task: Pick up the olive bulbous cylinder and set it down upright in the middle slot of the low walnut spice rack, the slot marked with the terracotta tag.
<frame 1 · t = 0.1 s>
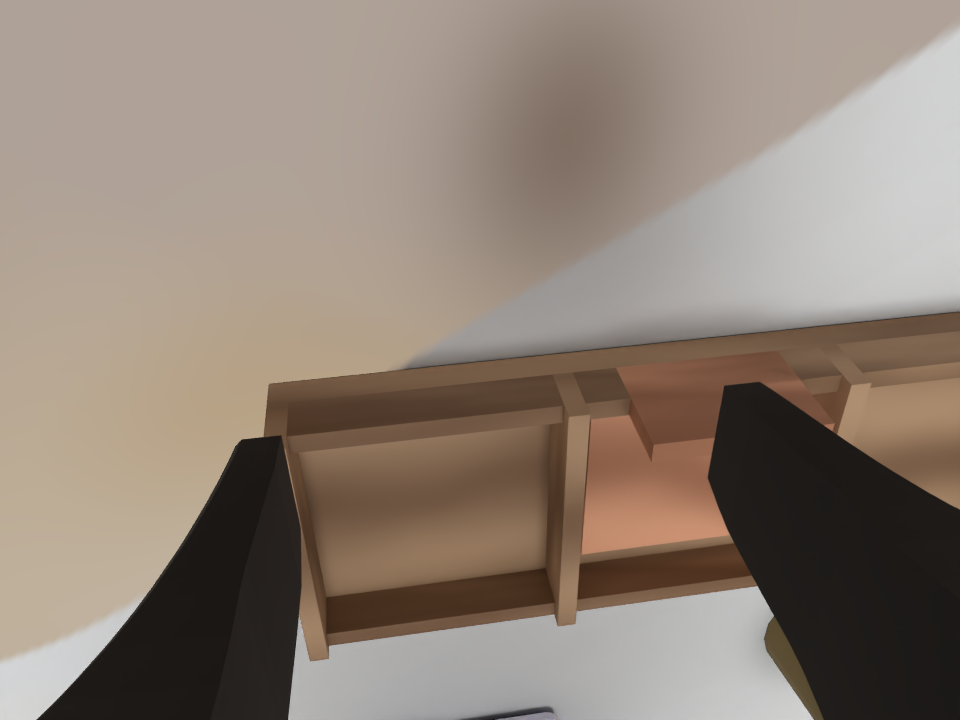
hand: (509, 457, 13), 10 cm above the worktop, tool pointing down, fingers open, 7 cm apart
olive bulbous cylinder: (830, 618, 35), on the worktop
spice rack: (669, 451, 28), on the worktop
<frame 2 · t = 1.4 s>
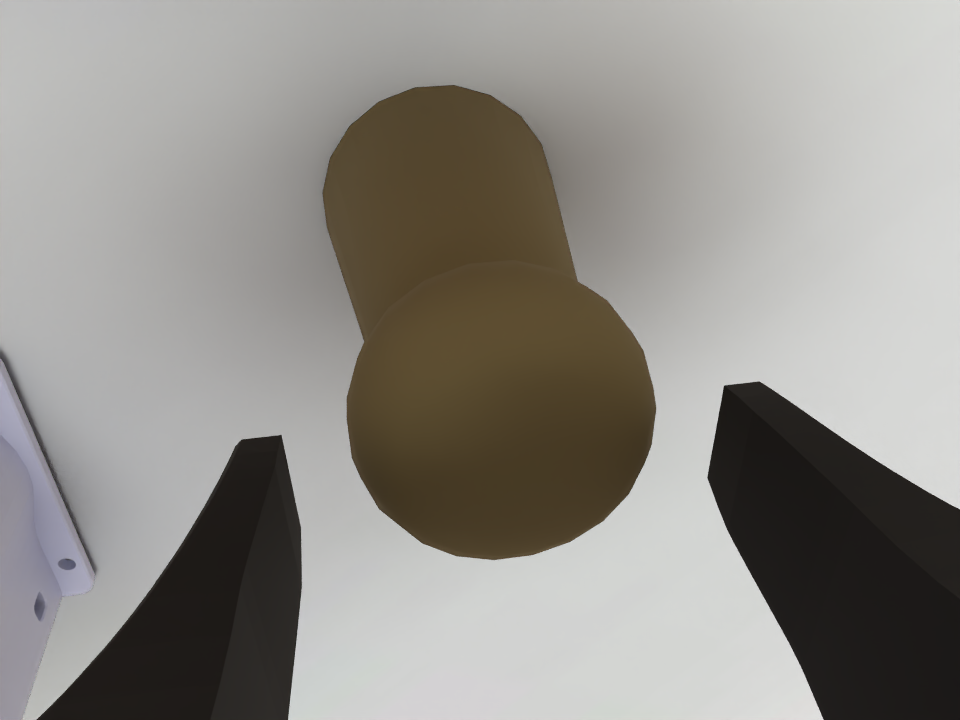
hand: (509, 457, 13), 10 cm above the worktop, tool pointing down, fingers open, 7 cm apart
olive bulbous cylinder: (438, 198, 22), on the worktop
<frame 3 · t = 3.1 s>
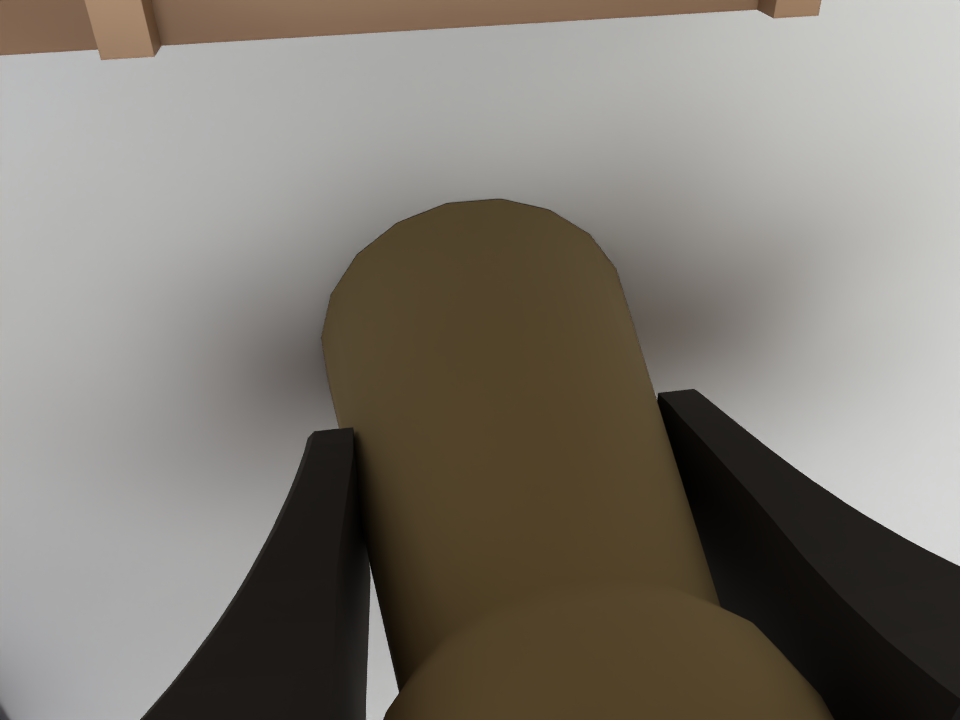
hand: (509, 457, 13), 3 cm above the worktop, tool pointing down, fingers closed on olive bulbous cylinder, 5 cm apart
olive bulbous cylinder: (476, 336, 16), on the worktop, touching gripper
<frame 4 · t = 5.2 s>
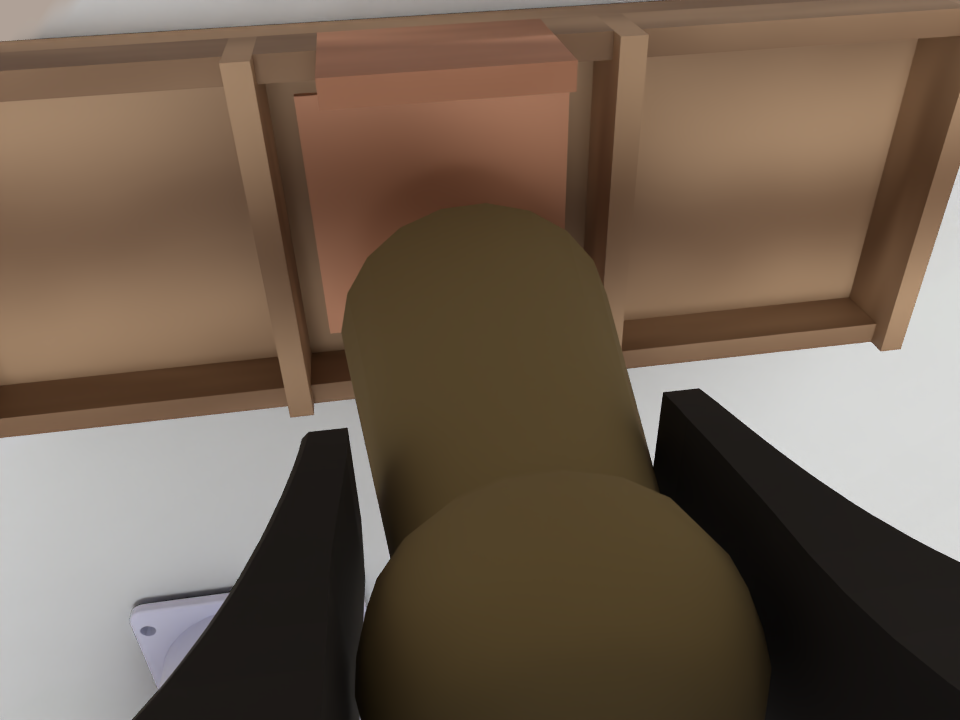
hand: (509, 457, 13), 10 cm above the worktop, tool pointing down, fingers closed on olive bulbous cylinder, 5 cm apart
olive bulbous cylinder: (476, 328, 19), point 5 cm above the worktop, touching gripper
spice rack: (436, 195, 22), on the worktop
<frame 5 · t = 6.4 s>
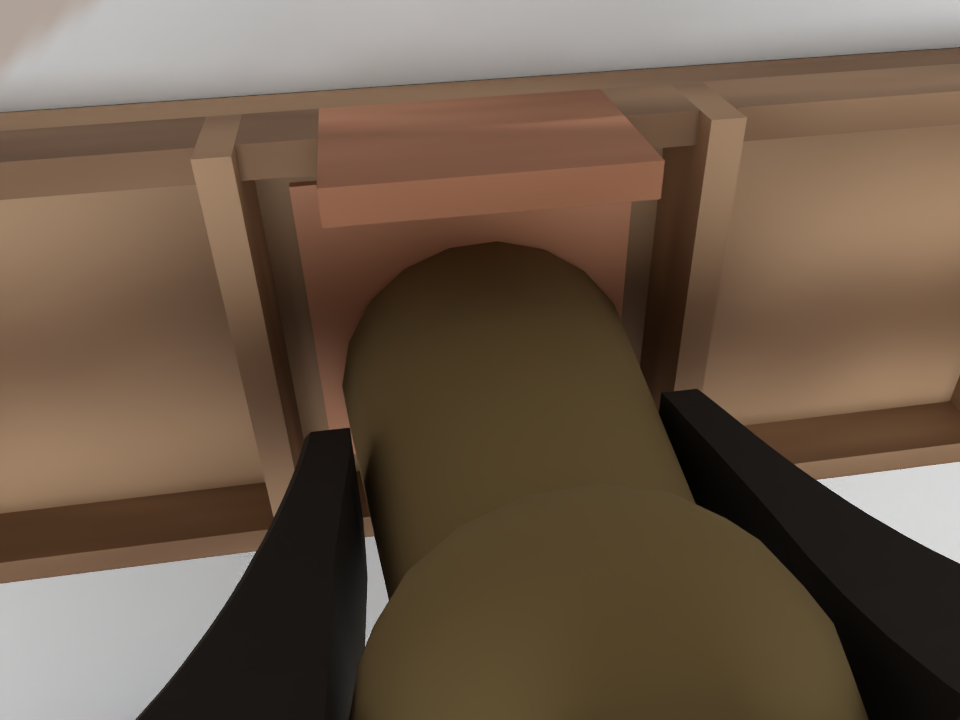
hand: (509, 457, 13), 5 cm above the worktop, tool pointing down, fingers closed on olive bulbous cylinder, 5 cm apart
olive bulbous cylinder: (488, 381, 17), point 2 cm above the worktop, touching gripper, spice rack
spice rack: (463, 291, 18), on the worktop
when the fingers open (5 cm above the worktop, at t = 7.3 s): olive bulbous cylinder stays where it is, resting on spice rack.
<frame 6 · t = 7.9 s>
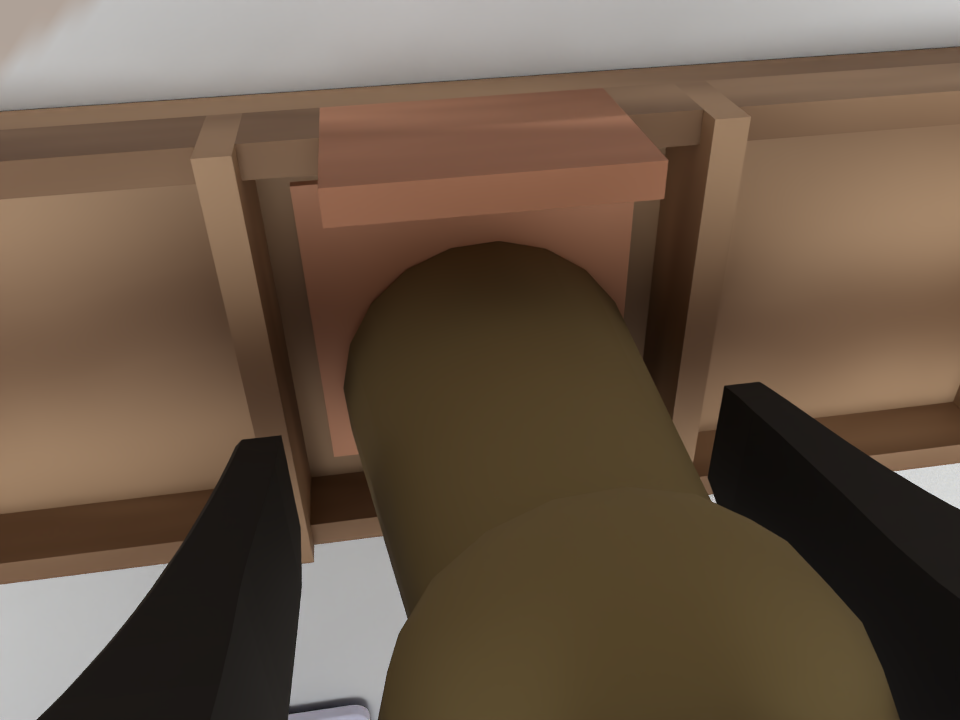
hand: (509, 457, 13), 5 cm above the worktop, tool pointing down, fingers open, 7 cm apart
olive bulbous cylinder: (490, 381, 17), point 2 cm above the worktop, touching spice rack
spice rack: (464, 291, 18), on the worktop
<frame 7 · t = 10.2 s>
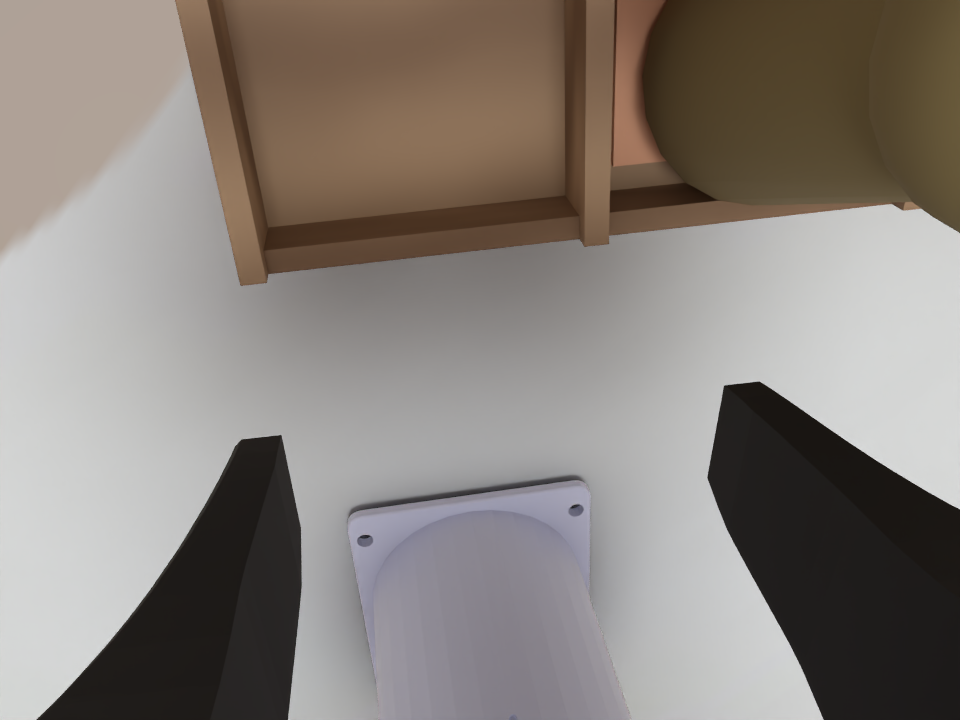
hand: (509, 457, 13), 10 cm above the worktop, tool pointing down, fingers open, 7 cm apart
olive bulbous cylinder: (761, 77, 20), point 2 cm above the worktop, touching spice rack
spice rack: (727, 14, 21), on the worktop
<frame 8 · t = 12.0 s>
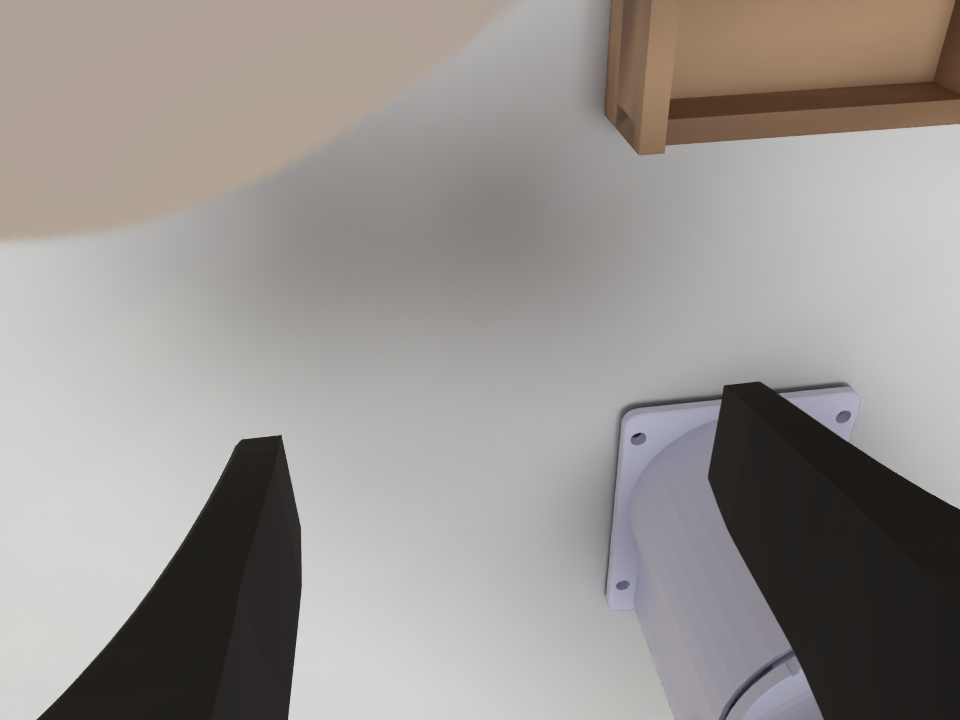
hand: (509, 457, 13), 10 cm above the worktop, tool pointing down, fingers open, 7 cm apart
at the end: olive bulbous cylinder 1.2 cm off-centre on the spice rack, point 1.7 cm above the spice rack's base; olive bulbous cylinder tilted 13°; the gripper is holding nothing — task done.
